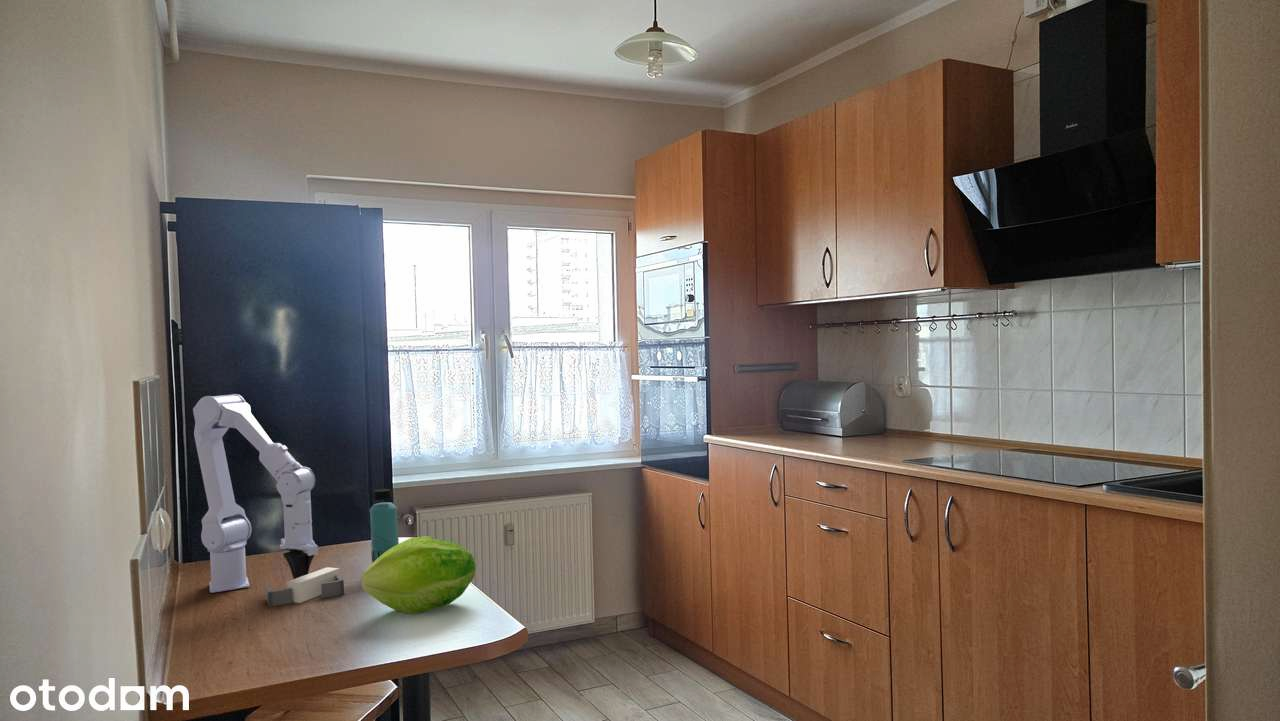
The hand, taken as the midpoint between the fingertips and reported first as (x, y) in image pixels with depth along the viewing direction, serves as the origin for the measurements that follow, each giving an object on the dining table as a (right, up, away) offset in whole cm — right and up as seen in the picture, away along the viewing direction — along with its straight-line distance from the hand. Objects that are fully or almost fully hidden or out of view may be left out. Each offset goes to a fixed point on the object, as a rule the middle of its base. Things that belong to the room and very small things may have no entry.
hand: (300, 582), depth 187 cm
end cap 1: (0, -2, -9) cm, 9 cm away
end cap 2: (+8, -1, -5) cm, 10 cm away
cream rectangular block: (+5, -1, -5) cm, 7 cm away
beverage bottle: (+16, -1, +11) cm, 19 cm away
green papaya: (+32, 0, -19) cm, 38 cm away
